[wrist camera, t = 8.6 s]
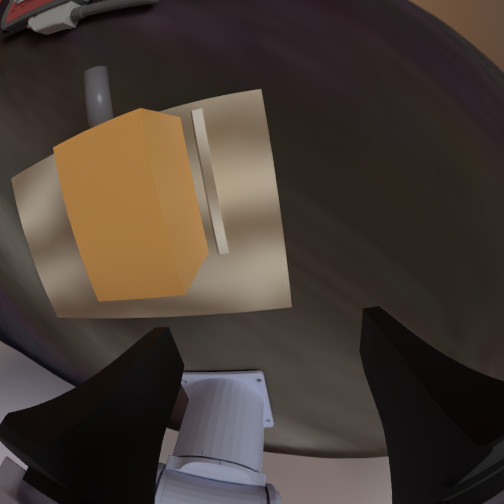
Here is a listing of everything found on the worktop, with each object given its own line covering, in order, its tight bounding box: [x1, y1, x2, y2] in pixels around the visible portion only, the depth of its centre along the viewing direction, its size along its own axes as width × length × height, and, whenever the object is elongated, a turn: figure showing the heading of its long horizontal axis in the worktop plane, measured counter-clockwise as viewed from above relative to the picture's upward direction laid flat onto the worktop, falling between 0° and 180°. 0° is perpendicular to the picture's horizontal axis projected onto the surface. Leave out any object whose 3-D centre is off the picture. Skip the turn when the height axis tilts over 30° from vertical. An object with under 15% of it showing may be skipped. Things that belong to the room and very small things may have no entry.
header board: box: [11, 89, 292, 318], centre depth 16 cm, size 14×22×5 cm, turn 99°
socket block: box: [53, 66, 209, 301], centre depth 12 cm, size 11×5×5 cm, turn 10°
